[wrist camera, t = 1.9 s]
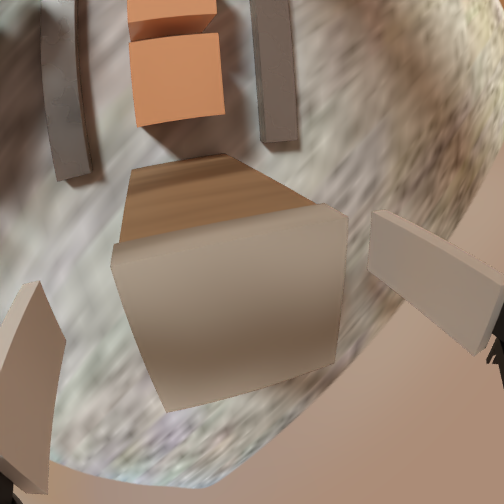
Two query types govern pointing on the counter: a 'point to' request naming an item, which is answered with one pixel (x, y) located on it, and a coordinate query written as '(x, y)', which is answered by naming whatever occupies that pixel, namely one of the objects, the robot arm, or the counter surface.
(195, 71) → the orange cubic piece
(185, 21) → the orange cube piece
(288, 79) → the slot rails
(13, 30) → the counter surface
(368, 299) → the counter surface
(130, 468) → the counter surface
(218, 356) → the light brown tall block
